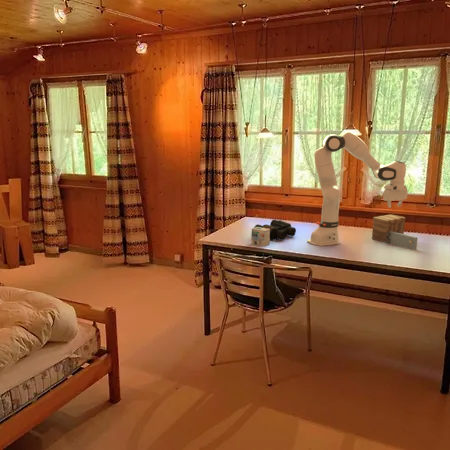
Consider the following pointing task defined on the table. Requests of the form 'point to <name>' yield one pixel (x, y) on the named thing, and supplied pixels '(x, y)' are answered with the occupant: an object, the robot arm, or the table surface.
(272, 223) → the binoculars
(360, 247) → the table surface
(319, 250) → the table surface
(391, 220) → the brown wooden crate
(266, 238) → the light bulb box
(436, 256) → the table surface
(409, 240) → the door
